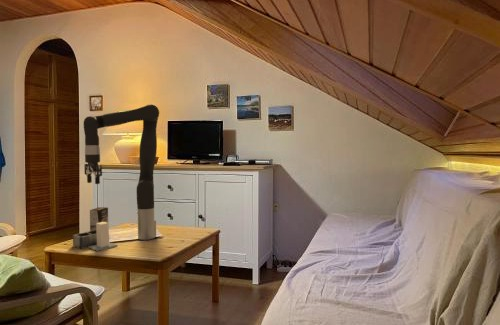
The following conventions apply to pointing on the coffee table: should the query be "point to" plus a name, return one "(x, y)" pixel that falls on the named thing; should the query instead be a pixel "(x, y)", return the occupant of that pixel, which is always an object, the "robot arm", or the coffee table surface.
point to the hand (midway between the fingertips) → (93, 183)
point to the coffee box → (98, 216)
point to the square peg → (102, 234)
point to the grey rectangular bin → (85, 239)
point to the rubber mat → (102, 247)
